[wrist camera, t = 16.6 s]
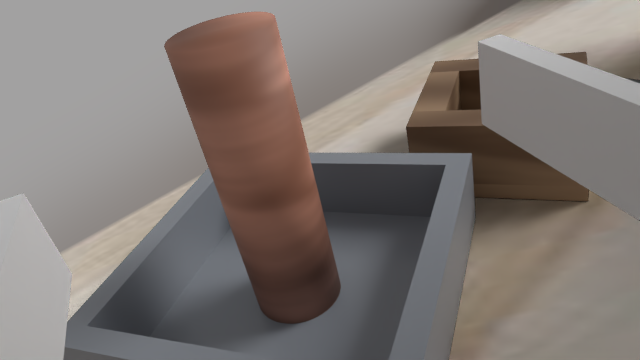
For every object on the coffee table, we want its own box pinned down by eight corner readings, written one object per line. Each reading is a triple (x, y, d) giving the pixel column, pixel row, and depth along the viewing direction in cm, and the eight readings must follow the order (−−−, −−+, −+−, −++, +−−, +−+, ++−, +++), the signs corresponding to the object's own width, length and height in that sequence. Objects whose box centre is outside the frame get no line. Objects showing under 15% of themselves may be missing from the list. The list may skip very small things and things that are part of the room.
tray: (241, 205, 38) (222, 152, 35) (475, 217, 31) (471, 153, 29) (90, 405, 25) (47, 343, 23) (424, 488, 19) (410, 415, 17)
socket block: (440, 121, 42) (435, 61, 39) (581, 118, 38) (585, 51, 35) (415, 195, 34) (406, 127, 32) (588, 201, 30) (594, 123, 28)
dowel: (278, 259, 30) (201, 17, 23) (351, 266, 29) (292, 7, 21) (244, 317, 27) (141, 56, 20) (324, 329, 25) (244, 47, 18)
